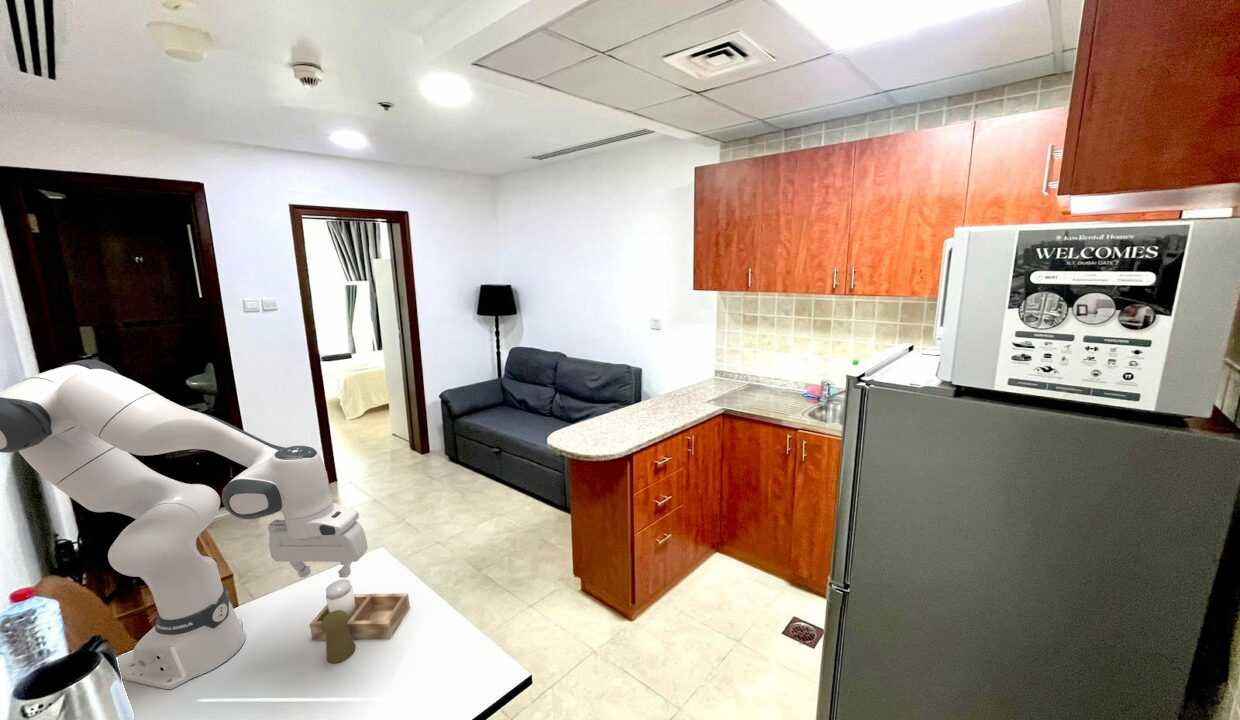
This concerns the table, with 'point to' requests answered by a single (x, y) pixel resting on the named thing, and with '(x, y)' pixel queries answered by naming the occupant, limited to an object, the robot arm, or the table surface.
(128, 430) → the robot arm
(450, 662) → the table surface
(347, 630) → the cork
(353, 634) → the caddy
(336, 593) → the salt shaker
